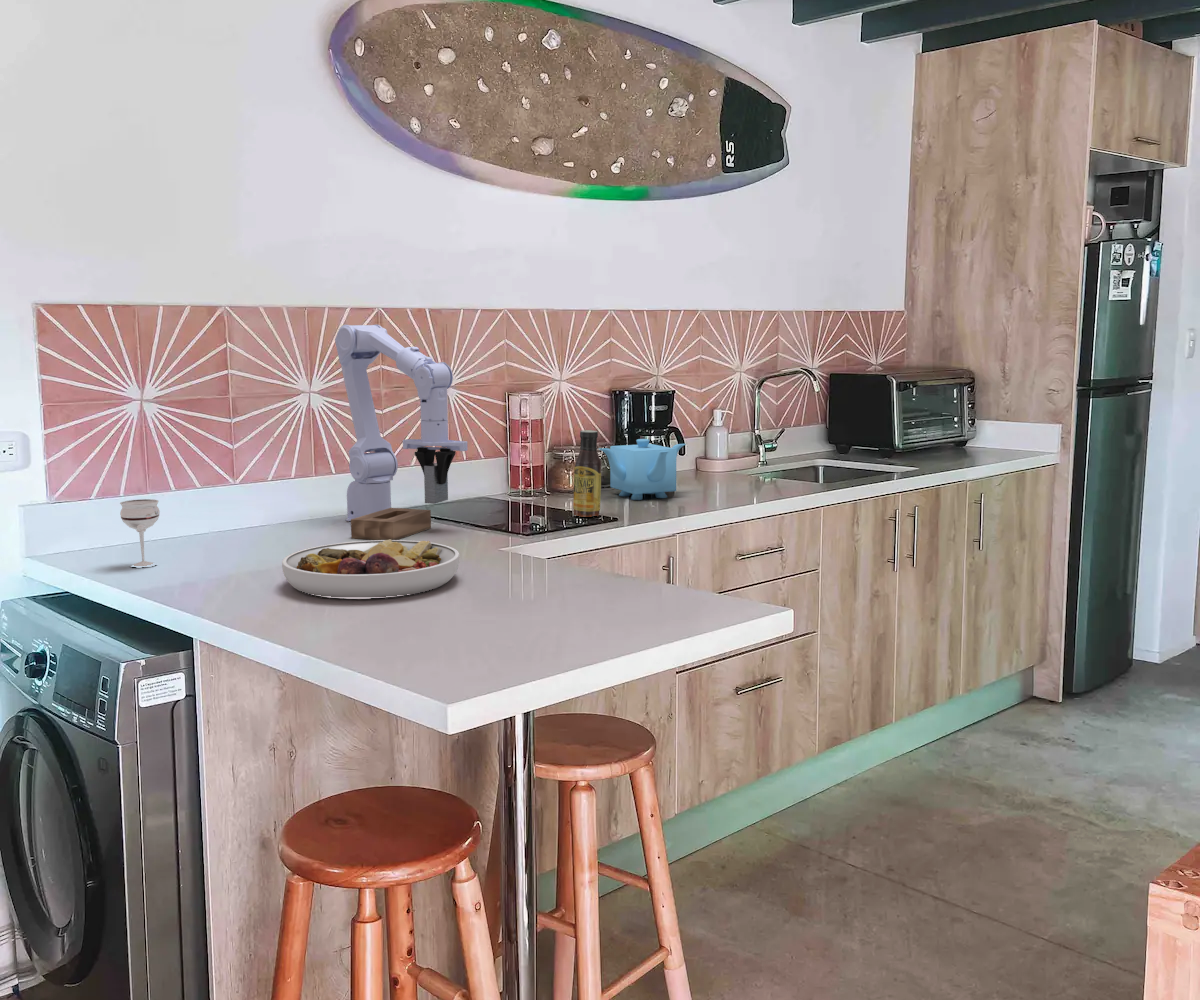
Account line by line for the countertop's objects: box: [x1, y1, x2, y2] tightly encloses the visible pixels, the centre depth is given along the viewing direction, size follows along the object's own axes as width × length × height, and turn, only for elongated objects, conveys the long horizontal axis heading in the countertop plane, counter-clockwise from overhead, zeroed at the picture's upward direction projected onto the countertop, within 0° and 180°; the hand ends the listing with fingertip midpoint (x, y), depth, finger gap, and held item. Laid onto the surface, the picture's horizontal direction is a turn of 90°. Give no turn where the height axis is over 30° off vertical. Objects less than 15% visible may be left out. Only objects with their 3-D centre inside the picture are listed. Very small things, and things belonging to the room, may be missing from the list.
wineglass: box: [119, 498, 161, 566], centre depth 214 cm, size 7×7×12 cm
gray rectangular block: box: [423, 462, 449, 505], centre depth 247 cm, size 2×6×8 cm, turn 160°
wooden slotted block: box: [350, 507, 432, 541], centre depth 246 cm, size 10×16×4 cm, turn 160°
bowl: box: [281, 539, 460, 597], centre depth 200 cm, size 30×30×8 cm
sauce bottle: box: [572, 429, 602, 518], centre depth 264 cm, size 7×6×20 cm
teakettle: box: [598, 438, 687, 501], centre depth 295 cm, size 19×19×15 cm
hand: (435, 483), depth 247 cm, fingers closed on gray rectangular block, 2 cm apart
